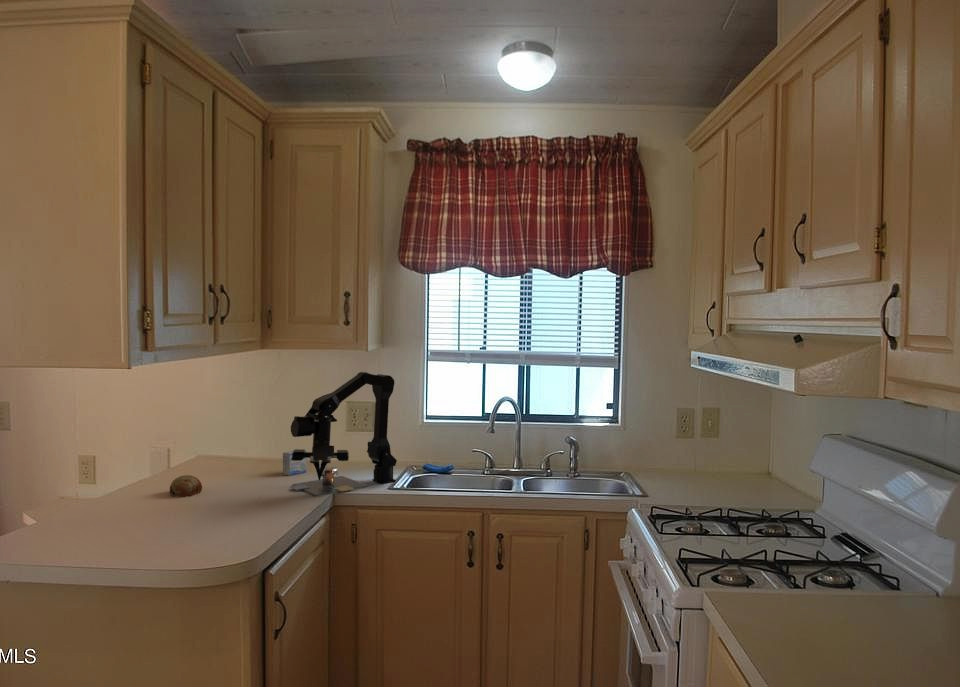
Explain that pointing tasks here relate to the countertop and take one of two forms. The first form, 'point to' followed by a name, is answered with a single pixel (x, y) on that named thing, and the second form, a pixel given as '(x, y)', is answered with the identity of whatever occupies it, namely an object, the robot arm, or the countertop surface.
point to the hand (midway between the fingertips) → (319, 480)
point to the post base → (328, 486)
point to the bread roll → (185, 486)
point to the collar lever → (330, 474)
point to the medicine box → (293, 465)
